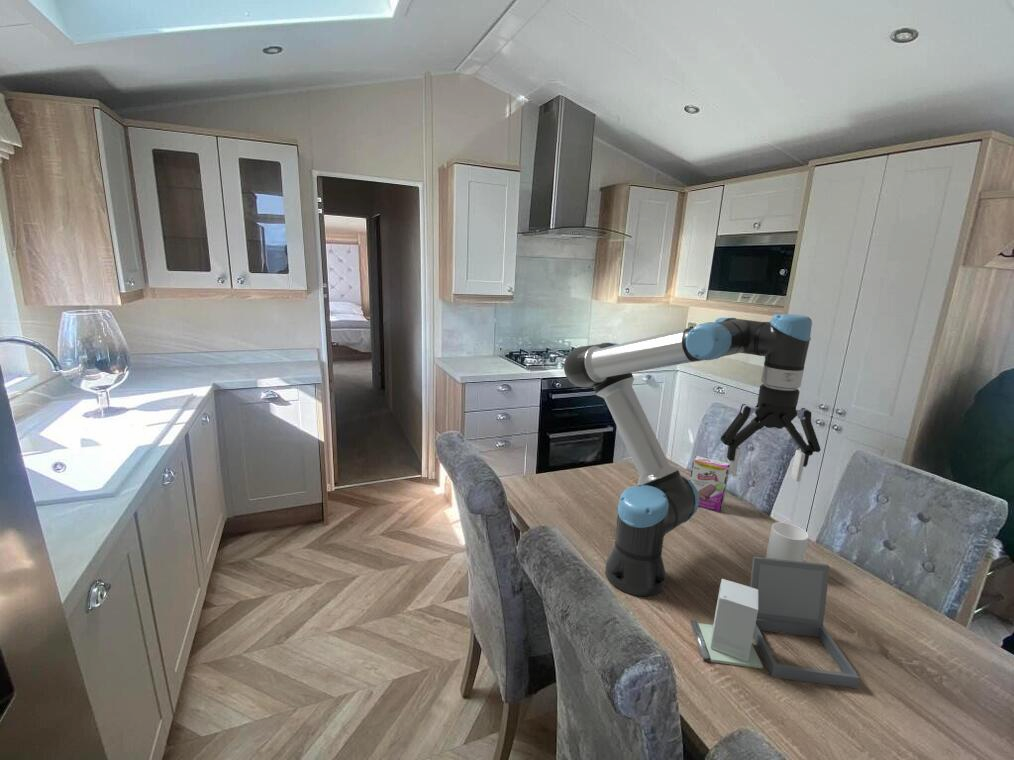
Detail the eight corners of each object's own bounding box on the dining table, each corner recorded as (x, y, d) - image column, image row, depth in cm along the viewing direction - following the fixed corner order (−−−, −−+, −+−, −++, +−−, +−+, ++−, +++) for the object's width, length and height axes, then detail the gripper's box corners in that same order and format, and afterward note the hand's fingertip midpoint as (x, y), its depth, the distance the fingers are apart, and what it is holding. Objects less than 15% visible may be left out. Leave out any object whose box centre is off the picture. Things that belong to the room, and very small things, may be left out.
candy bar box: (686, 503, 159) (692, 459, 155) (689, 498, 163) (695, 454, 159) (721, 513, 153) (728, 468, 150) (723, 507, 158) (730, 462, 154)
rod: (702, 660, 95) (702, 655, 95) (689, 624, 105) (690, 619, 104) (709, 661, 95) (710, 655, 95) (696, 625, 105) (697, 620, 104)
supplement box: (748, 663, 94) (759, 610, 91) (709, 648, 97) (718, 597, 94) (749, 639, 100) (759, 589, 97) (712, 625, 104) (721, 577, 101)
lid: (754, 558, 103) (753, 556, 104) (749, 616, 104) (747, 614, 105) (829, 566, 101) (827, 564, 102) (823, 625, 102) (821, 623, 103)
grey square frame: (772, 677, 92) (774, 666, 91) (747, 625, 105) (748, 616, 104) (857, 688, 90) (860, 678, 89) (820, 635, 103) (823, 625, 102)
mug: (818, 570, 126) (826, 535, 123) (783, 577, 122) (791, 541, 120) (791, 552, 134) (798, 519, 131) (758, 558, 130) (764, 524, 128)
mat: (710, 661, 95) (711, 659, 95) (697, 625, 105) (698, 623, 104) (762, 668, 94) (762, 666, 94) (744, 631, 103) (744, 629, 103)
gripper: (725, 386, 98) (711, 478, 104) (852, 394, 95) (831, 488, 101) (714, 378, 106) (702, 464, 111) (832, 385, 103) (813, 474, 108)
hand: (763, 476), depth 106 cm, fingers open, 13 cm apart
